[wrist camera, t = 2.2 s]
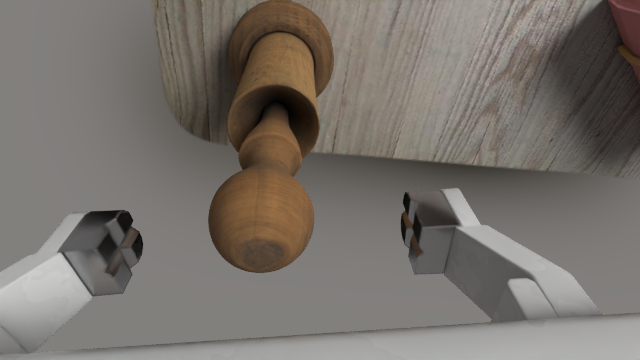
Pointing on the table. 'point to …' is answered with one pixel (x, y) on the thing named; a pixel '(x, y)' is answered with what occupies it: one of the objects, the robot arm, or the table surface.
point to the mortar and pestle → (271, 135)
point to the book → (628, 30)
